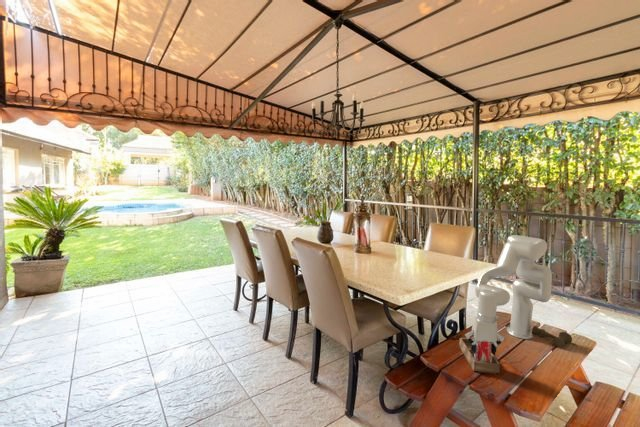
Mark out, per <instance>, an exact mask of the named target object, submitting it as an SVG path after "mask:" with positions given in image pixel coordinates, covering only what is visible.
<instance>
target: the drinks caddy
mask: <svg viewBox="0 0 640 427" xmlns="http://www.w3.org/2000/svg"><path fill="white" fill-rule="evenodd" d="M458 341H459V342H458V346H459V348H460V350H461V352H462V354H463V355H464V357H465V359H466V361H467V362H468V364H469V366H470V367H471V369H472V371H473V372H474V371H478V372H477V373H487V374H496V373H499V374H500V373H501V364H500V362H499V360H497V358H496V356H495V355H493V354H492V352H491V362H490V363H488V362H477V361H475V359H474V353H473V352H472V350H471V349H470V348H471V343H470V342H469V340H468V339H467V337H459V338H458Z"/></svg>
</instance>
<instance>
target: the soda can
mask: <svg viewBox="0 0 640 427" xmlns="http://www.w3.org/2000/svg"><path fill="white" fill-rule="evenodd" d="M491 344H492V342H487V341H477V343H476V344H475V345H476V350H475V353H474V359H475V361H477V362H488V363H490V362H491V353H492V352H491Z"/></svg>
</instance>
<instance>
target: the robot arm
mask: <svg viewBox="0 0 640 427" xmlns="http://www.w3.org/2000/svg"><path fill="white" fill-rule="evenodd" d="M547 250H548V243H547V241H546V240H544V239H543V238H542V239H541V238H537V237H531V236H525V235H518V234H512V235H509V236H507V239H506V242H505V243H504V245H503V246H502V250H501V253H499V254H500V255H499V257H498V260H497V262H496V264H495V266H493V267H491V268H489V269H487V270H485V271H484V272H483V273H482V274H481V276H480V277H479V278H478V282H477V283H476V287H475V292H474V293H475V296H476V297H477V298H478V300H477V313H476V316H475V317H474V319H473V322H472V327H471V331H469V332H467V333H465V334H464V336H465V338H467V339H468V340H469V342H470V343H471V348H470V349H471V350H472V352H473V353H475V350H476V345H475V344H476V343H477V341H487V342H491V353H492V354H493V355H494V356H495V355H496V353H497V350H498V347H499V345H501V344H502V342H503V341H504V340H505V338H504V336H503V335H501V334H500V333H499V332H498V331H499V330H498V329H499V328H498V321H497V319H500V317H499V315H497V308H498V307H501V306H505V305H507V304H508V303H509V301H510V298H511V295H510V292H508V290H506V289H504V288H501V287H498V286H494V285H490V284H488V283H489V282H490V281H491V280H493V279H495V278H500V277H501V278H502V277H508V276H512V275H515V274H516V276H517V277H518V278H517V279H516V278H515V280H513V282H512V286H511V287H512V288H511V289H512V304H511V305H512V307H511V317H510V321H509V324H510V326H507V327H506V332H507V333H508V334H509V335H511V336H513V337H515V338H517V339H522V340H531V339H533V338H534V335H533V334H532V331H531V327H532V319H533V310H534V305H533V302H532V300H534V301H537V302H540V303H547V302H549V301H550V300H551V296H552V281H553V280H552V279H553V274H552V273H553V272H552V270H551V268H550V267H549V266H547V265H543V264H538V263H536V261H538V260H539V259H540V258H541V257H543V256H544V255H545V254H546V253H547ZM471 336H472V337H471Z"/></svg>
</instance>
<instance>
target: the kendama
mask: <svg viewBox="0 0 640 427" xmlns="http://www.w3.org/2000/svg"><path fill="white" fill-rule="evenodd" d="M531 333H532V334H533V336H534V335H538V336H540V337H541V338H543V337H545V338H549V339H552V343H553V345H554V346H555V347H557V348H559V349H564V348H565V347H566V344H569V345H573V346H576V347H577V346H578V345H577V344H576V343H574V342H573V337H572V335H571V334H569V333H568V332H566V331H565V332H564V331H560V332H559V334H558V336H556V335H554V334H552V333H549V332H547V330H546V329H542V328H540V327H538V326H537V325H534V326H533V327H532V330H531Z"/></svg>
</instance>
